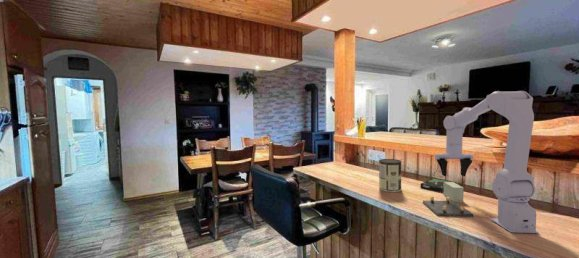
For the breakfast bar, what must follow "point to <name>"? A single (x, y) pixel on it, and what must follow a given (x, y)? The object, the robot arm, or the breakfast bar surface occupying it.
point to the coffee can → (390, 175)
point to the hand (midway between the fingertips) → (453, 175)
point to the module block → (453, 191)
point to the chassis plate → (447, 208)
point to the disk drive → (434, 185)
